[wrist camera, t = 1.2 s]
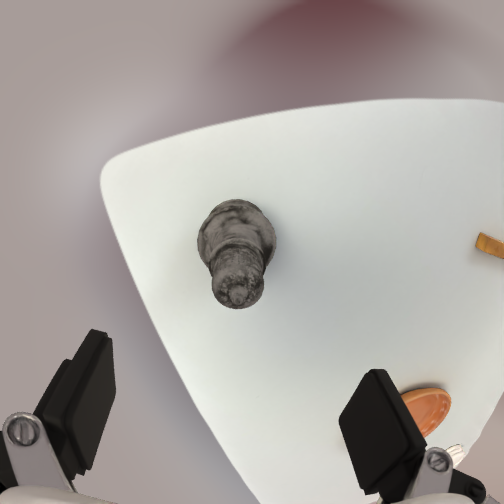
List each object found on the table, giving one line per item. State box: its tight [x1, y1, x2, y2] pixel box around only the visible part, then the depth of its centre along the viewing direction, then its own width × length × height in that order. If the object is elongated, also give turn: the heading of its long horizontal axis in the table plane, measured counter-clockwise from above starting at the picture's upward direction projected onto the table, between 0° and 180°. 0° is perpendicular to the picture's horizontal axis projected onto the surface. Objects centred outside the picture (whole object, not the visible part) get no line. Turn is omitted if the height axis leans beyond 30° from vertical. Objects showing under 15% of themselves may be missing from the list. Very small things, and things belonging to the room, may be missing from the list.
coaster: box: [445, 445, 465, 467], centre depth 48 cm, size 10×10×4 cm
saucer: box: [401, 388, 451, 438], centre depth 37 cm, size 16×16×3 cm
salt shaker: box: [197, 199, 276, 309], centre depth 20 cm, size 6×6×12 cm
